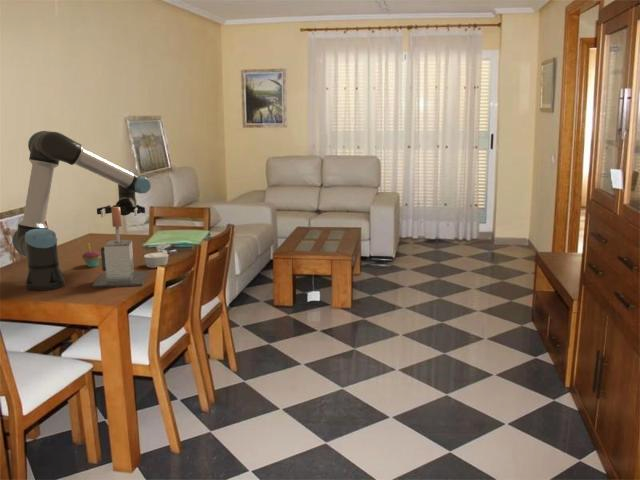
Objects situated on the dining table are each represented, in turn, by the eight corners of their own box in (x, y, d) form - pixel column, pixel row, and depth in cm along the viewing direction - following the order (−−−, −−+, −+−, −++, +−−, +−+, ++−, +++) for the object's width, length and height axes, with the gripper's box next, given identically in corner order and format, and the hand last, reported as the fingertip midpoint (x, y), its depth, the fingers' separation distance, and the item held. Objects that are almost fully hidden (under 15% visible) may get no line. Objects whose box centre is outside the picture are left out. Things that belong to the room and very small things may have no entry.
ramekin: (139, 267, 286) (138, 256, 285) (154, 262, 297) (153, 251, 296) (159, 269, 282) (158, 258, 281) (173, 264, 293) (172, 253, 292)
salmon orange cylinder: (114, 263, 259) (110, 208, 255) (115, 261, 263) (112, 206, 258) (123, 263, 260) (119, 207, 255) (124, 261, 264) (120, 206, 259)
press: (92, 288, 252) (89, 248, 248) (100, 275, 271) (97, 238, 268) (142, 285, 255) (139, 246, 252) (147, 273, 275) (144, 236, 271)
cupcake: (95, 268, 284) (93, 243, 282) (79, 267, 286) (77, 242, 283) (105, 263, 292) (103, 239, 290) (89, 263, 294) (87, 238, 292)
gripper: (153, 213, 283) (149, 221, 262) (97, 215, 278) (88, 223, 258) (152, 197, 281) (148, 204, 261) (95, 198, 277) (87, 205, 256)
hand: (118, 213), depth 259 cm, fingers open, 13 cm apart
